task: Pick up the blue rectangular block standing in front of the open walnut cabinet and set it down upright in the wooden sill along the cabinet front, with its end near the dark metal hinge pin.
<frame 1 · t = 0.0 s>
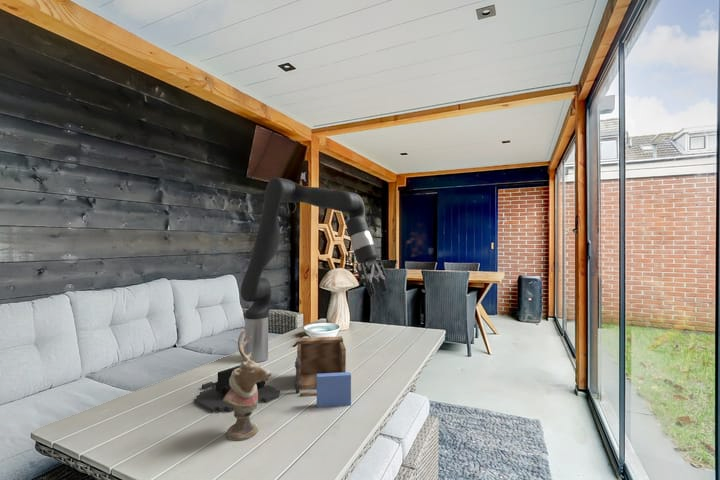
hand: (379, 293, 116), 31 cm above the table, tool tilted 20°, fingers open, 8 cm apart
decorative bust: (246, 435, 88), on the table
abstract sculpture: (232, 397, 111), on the table
cabinet: (320, 380, 123), on the table
blue rectangular block: (333, 404, 105), on the table
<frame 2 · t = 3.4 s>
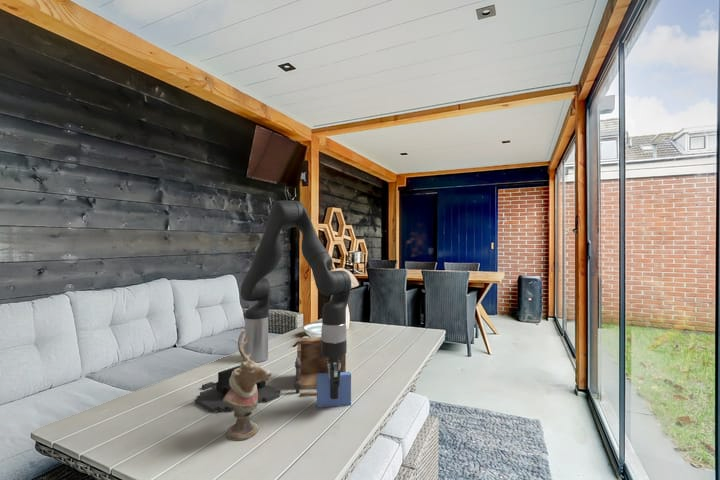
hand: (333, 396, 105), 2 cm above the table, tool pointing down, fingers closed on blue rectangular block, 2 cm apart
blue rectangular block: (333, 404, 105), on the table, touching gripper
everything else where it was.
when the fingers open (3 cm above the table, at t = 7.4 s): blue rectangular block stays where it is, resting in cabinet.
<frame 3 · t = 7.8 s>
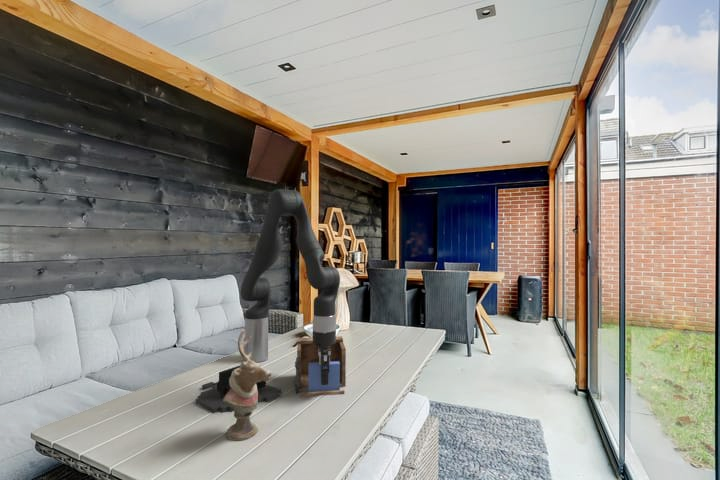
hand: (324, 380, 114), 3 cm above the table, tool pointing down, fingers open, 5 cm apart
blue rectangular block: (324, 391, 114), resting in cabinet
everything else where it was.
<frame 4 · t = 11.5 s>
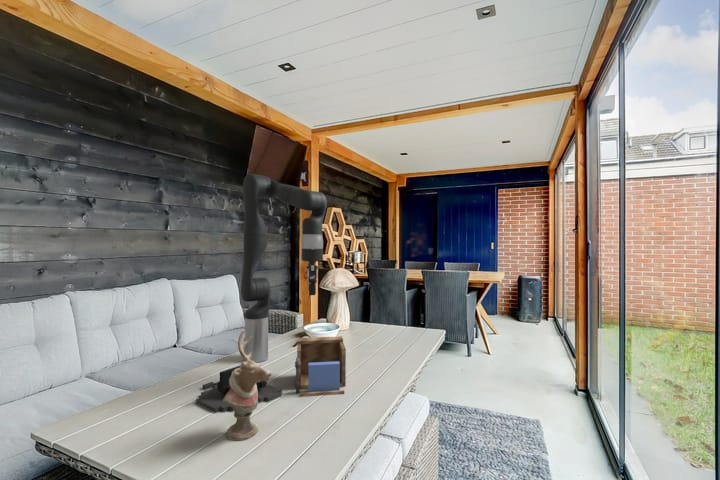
hand: (312, 293, 125), 30 cm above the table, tool pointing down, fingers open, 8 cm apart
nothing on the table moved.
at the end: blue rectangular block 0.1 cm from the target spot on the cabinet, point 0.0 cm above the cabinet's base; blue rectangular block tilted 0°; the gripper is holding nothing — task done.
